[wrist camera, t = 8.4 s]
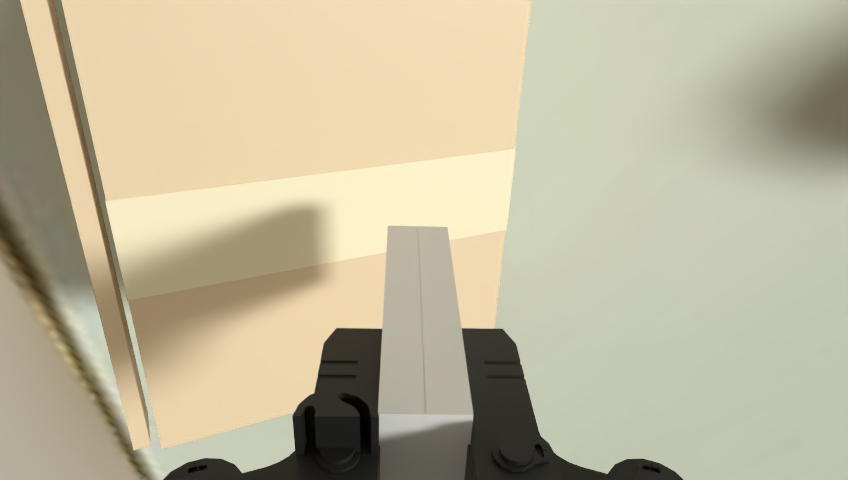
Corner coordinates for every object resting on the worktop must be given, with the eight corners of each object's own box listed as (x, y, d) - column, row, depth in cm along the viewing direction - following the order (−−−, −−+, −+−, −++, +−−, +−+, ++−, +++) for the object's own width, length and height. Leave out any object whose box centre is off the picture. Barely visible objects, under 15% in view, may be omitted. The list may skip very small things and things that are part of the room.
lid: (15, -55, 14) (5, -49, 12) (502, -46, 19) (537, -41, 18) (131, 416, 21) (134, 457, 19) (468, 330, 26) (491, 357, 24)
